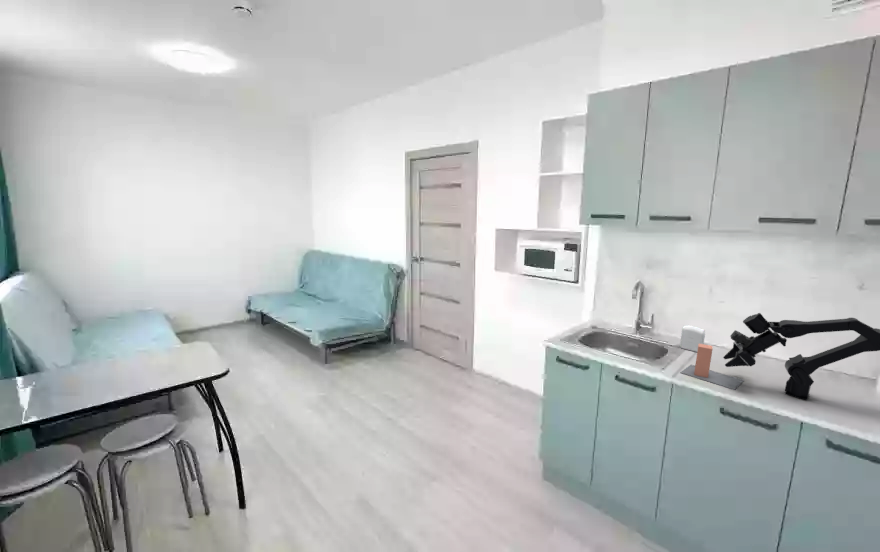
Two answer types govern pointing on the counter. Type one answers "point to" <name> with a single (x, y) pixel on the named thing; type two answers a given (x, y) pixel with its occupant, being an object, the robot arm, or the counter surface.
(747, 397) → the counter surface
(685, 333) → the photo printer
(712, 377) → the mat
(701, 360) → the card box
